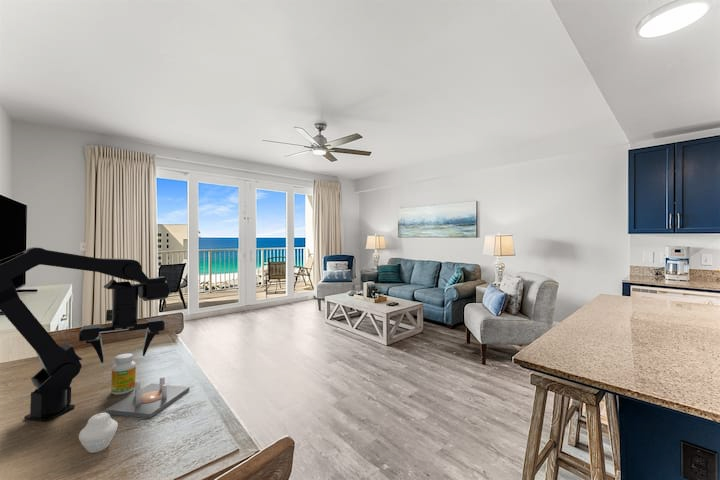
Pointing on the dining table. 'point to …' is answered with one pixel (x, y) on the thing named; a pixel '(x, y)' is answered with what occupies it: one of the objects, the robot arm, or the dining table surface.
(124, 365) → the supplement bottle
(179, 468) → the dining table surface
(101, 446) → the white lump
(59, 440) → the dining table surface
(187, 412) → the dining table surface
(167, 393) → the pin tray
